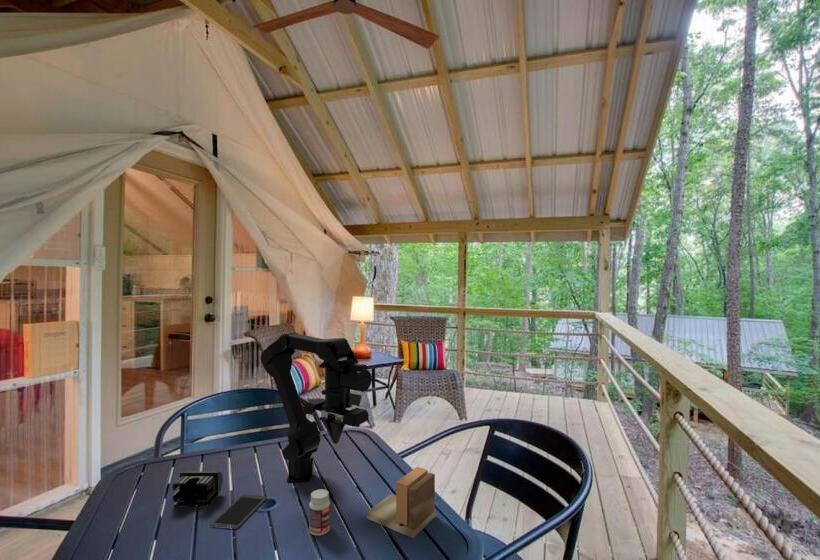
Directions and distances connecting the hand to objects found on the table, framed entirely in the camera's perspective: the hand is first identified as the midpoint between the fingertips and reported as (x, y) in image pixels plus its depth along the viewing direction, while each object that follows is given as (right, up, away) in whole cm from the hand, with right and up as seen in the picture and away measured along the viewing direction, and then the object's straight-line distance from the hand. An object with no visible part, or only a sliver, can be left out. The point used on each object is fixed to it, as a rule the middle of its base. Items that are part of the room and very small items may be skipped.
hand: (335, 443), depth 111 cm
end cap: (-35, -13, -4) cm, 38 cm away
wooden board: (+21, -11, -13) cm, 27 cm away
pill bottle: (-1, -14, -17) cm, 21 cm away
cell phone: (-22, -14, -9) cm, 28 cm away
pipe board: (+18, -13, -12) cm, 25 cm away
